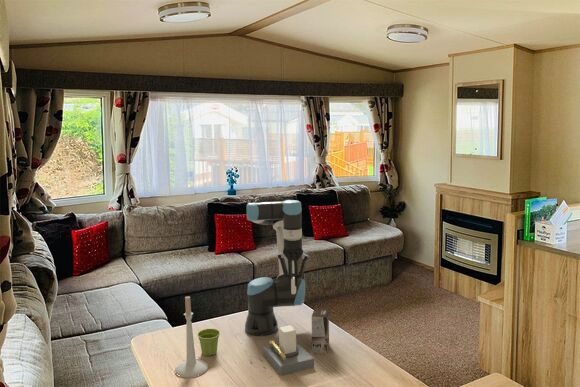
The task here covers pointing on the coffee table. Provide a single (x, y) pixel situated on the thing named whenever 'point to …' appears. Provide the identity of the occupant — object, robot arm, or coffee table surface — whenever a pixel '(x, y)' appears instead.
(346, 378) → the coffee table surface
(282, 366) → the socket
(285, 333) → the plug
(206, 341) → the plant pot
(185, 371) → the candlestick
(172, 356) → the coffee table surface
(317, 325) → the coffee box
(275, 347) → the tan long thin stick
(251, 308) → the robot arm
